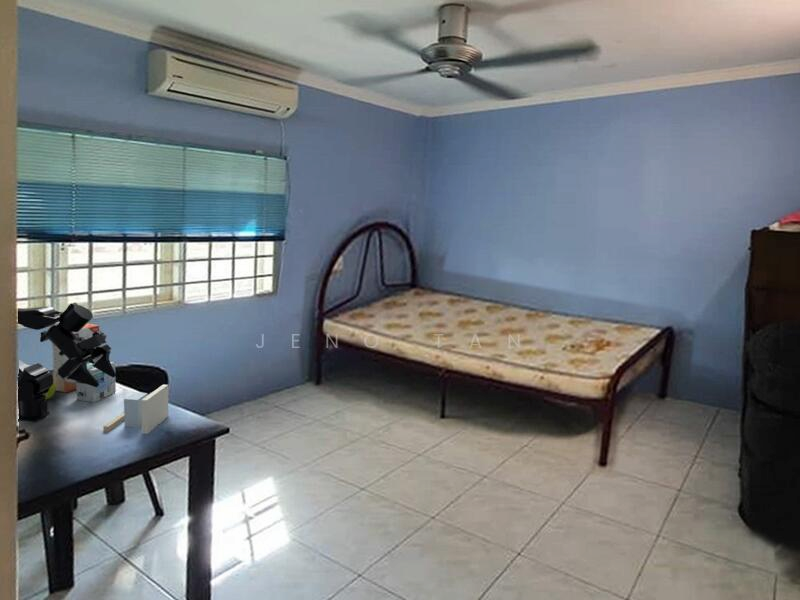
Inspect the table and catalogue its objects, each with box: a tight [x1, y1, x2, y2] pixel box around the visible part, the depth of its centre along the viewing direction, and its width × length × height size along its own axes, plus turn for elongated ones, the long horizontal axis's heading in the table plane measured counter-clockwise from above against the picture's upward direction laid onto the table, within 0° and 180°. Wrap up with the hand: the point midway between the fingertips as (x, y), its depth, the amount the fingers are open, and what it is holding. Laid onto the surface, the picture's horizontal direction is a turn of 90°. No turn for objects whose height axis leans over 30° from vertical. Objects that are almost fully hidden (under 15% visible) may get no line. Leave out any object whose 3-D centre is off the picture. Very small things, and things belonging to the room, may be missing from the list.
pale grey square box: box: [123, 391, 149, 429], centre depth 166 cm, size 5×6×8 cm
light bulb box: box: [76, 361, 117, 403], centre depth 186 cm, size 11×7×11 cm, turn 168°
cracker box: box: [51, 323, 100, 393], centre depth 194 cm, size 14×6×21 cm, turn 160°
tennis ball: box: [43, 382, 56, 400], centre depth 181 cm, size 7×7×7 cm
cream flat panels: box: [102, 384, 169, 435], centre depth 166 cm, size 12×14×10 cm
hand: (106, 381), depth 165 cm, fingers open, 9 cm apart
